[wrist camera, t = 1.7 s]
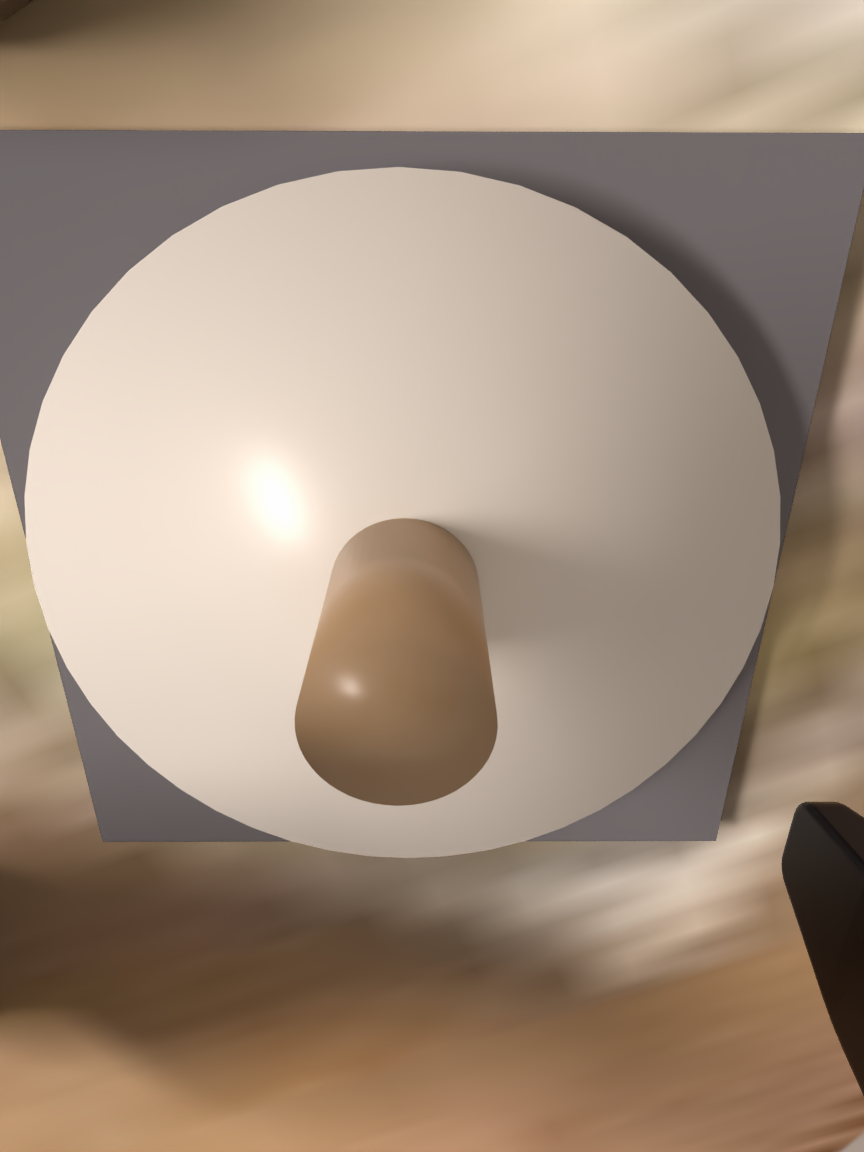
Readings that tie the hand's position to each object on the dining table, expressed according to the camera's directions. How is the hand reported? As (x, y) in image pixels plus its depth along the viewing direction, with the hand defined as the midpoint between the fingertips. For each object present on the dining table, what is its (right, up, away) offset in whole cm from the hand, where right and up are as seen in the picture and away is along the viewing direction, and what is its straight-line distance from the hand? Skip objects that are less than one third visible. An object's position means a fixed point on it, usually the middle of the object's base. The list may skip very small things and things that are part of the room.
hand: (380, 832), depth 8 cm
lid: (0, +3, +6) cm, 7 cm away
